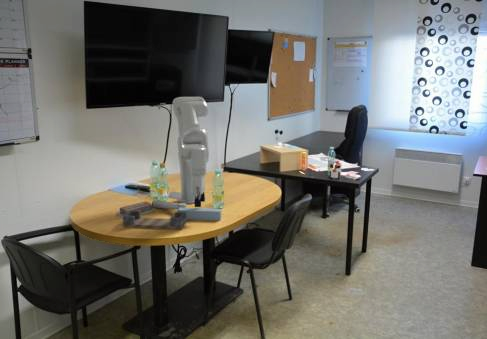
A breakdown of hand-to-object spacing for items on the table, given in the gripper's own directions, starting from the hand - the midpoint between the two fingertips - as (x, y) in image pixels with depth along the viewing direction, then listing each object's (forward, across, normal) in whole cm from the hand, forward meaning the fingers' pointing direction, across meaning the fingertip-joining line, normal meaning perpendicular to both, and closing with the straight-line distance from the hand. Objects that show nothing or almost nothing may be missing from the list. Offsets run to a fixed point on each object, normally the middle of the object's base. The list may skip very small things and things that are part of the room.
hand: (199, 204), depth 219 cm
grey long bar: (+8, -10, -19) cm, 23 cm away
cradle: (+8, +11, -20) cm, 24 cm away
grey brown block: (+8, -5, -36) cm, 37 cm away
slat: (+8, -1, 0) cm, 8 cm away
